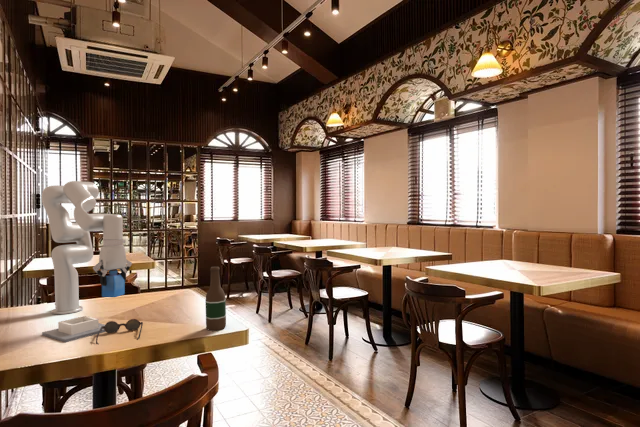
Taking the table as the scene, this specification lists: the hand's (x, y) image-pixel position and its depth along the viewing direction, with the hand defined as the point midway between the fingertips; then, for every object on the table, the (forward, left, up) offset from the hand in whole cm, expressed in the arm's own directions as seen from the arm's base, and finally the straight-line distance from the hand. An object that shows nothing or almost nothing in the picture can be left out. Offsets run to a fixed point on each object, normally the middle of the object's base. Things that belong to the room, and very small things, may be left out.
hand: (113, 283), depth 174 cm
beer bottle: (+49, +13, -16) cm, 53 cm away
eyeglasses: (+25, -12, -16) cm, 32 cm away
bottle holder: (+5, -17, -16) cm, 24 cm away
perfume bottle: (0, 0, -5) cm, 5 cm away
